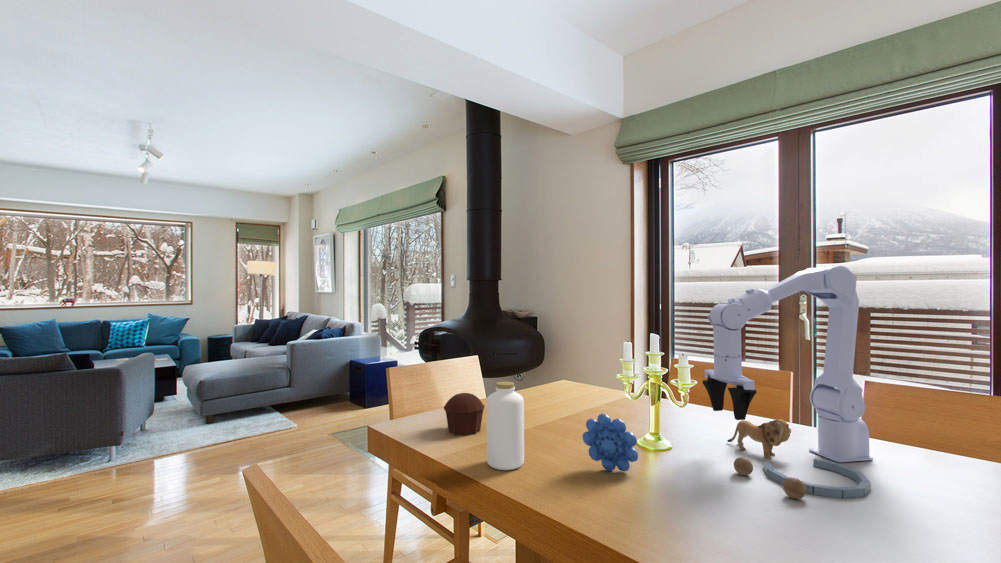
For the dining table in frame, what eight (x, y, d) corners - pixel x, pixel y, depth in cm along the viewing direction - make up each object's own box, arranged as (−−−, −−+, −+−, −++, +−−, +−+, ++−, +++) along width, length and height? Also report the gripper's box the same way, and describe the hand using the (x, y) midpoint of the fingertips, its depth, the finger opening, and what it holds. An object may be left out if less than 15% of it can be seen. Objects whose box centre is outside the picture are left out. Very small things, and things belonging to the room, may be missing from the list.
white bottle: (531, 464, 100) (531, 382, 100) (506, 475, 94) (506, 388, 94) (504, 454, 106) (504, 378, 106) (478, 464, 100) (478, 383, 100)
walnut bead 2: (795, 492, 85) (794, 473, 85) (811, 501, 82) (810, 481, 82) (778, 494, 85) (777, 475, 85) (793, 503, 81) (793, 483, 81)
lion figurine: (795, 459, 103) (795, 419, 103) (784, 464, 100) (783, 423, 100) (732, 441, 115) (731, 406, 115) (720, 445, 112) (720, 409, 112)
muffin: (450, 423, 131) (449, 389, 131) (487, 425, 129) (487, 390, 130) (438, 436, 119) (438, 398, 119) (479, 438, 118) (479, 400, 118)
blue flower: (579, 474, 94) (578, 417, 94) (584, 463, 100) (584, 409, 101) (637, 482, 90) (636, 422, 90) (638, 470, 97) (638, 413, 97)
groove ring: (824, 464, 100) (824, 457, 100) (893, 493, 85) (893, 485, 85) (754, 469, 97) (753, 462, 97) (813, 501, 82) (812, 492, 82)
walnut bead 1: (745, 470, 96) (744, 453, 96) (757, 477, 92) (757, 460, 92) (729, 472, 95) (729, 454, 95) (741, 479, 92) (741, 461, 92)
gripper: (693, 352, 110) (694, 407, 110) (733, 360, 96) (734, 424, 96) (719, 351, 112) (719, 406, 111) (762, 359, 97) (763, 423, 97)
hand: (728, 414), depth 104 cm, fingers open, 7 cm apart
